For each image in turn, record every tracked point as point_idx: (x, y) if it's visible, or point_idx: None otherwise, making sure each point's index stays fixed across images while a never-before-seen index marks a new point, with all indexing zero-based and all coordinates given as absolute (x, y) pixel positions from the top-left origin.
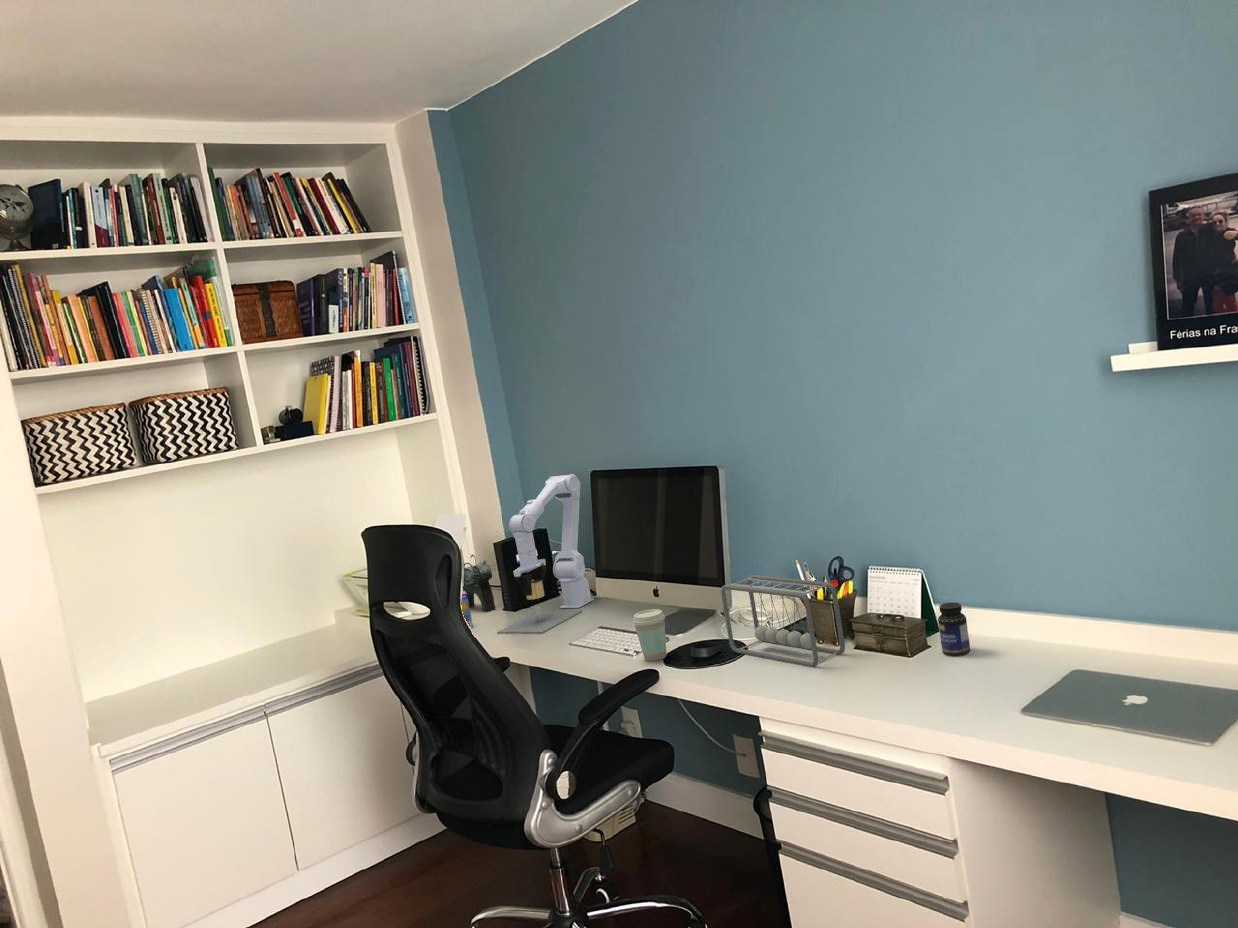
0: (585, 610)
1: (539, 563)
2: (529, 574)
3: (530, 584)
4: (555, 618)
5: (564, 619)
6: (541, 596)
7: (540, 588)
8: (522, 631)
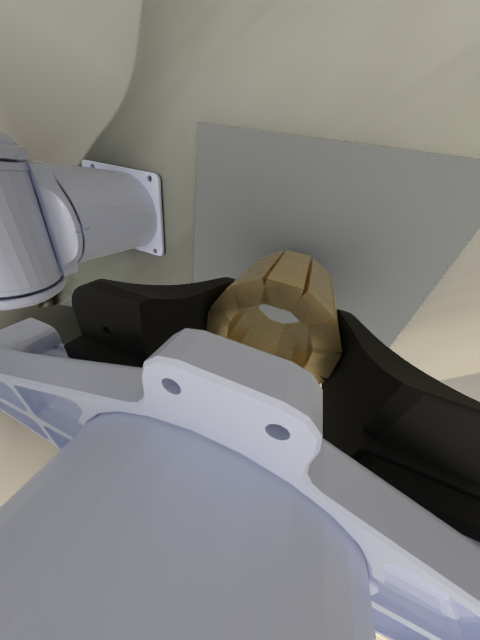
0: (182, 117)
1: (105, 385)
2: (409, 420)
3: (367, 342)
4: (281, 208)
5: (314, 143)
6: (308, 255)
7: (298, 268)
8: (426, 286)
